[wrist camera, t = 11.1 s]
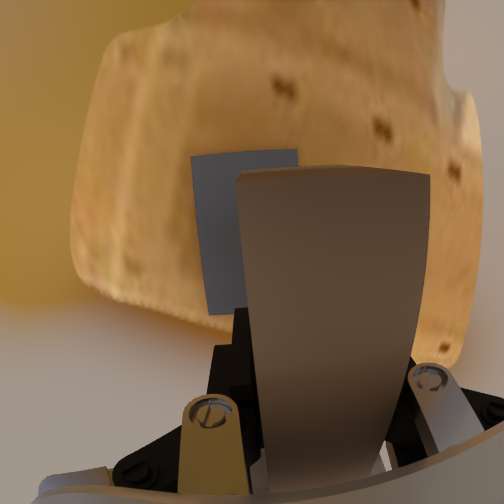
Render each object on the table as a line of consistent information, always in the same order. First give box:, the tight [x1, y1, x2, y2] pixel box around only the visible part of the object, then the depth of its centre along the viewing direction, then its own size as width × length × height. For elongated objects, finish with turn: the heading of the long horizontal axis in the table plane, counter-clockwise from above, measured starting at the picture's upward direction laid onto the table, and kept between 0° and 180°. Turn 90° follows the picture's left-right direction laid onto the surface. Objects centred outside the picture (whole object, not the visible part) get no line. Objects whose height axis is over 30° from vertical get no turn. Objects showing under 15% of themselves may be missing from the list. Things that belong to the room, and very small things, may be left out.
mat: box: [191, 149, 298, 315], centre depth 27 cm, size 15×9×1 cm, turn 4°
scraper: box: [235, 165, 430, 494], centre depth 8 cm, size 13×7×6 cm, turn 5°
